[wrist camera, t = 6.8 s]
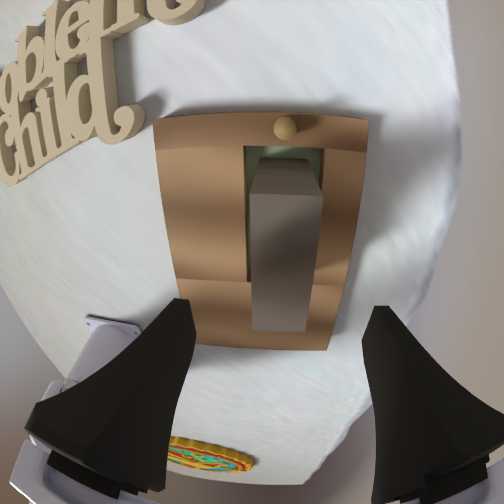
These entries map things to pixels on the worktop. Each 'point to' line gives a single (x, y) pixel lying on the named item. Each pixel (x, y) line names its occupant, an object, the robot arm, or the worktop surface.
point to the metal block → (283, 242)
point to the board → (238, 214)
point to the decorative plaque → (207, 456)
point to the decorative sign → (72, 81)
